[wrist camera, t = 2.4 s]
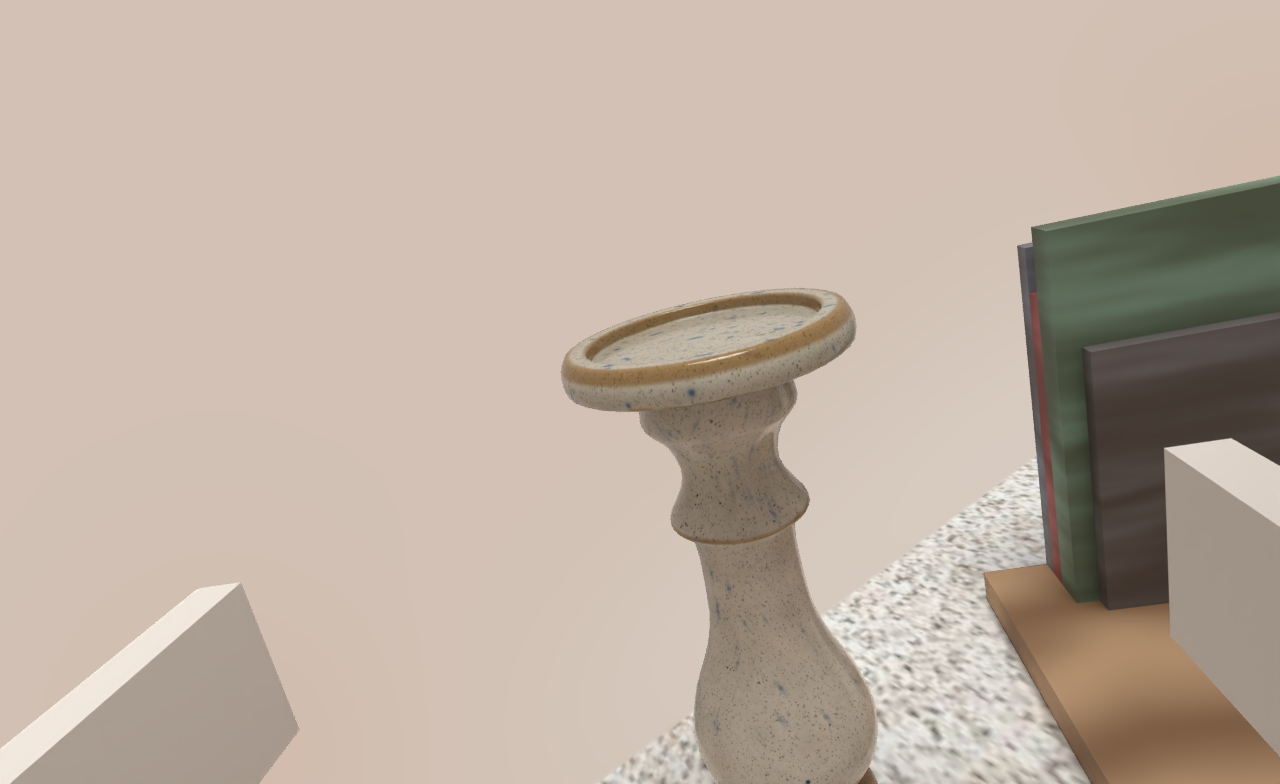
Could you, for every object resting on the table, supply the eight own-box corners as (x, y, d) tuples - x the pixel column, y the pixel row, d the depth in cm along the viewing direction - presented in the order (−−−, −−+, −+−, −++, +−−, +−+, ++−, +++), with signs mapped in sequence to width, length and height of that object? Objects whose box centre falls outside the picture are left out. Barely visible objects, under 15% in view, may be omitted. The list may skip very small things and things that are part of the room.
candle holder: (678, 842, 29) (541, 333, 24) (900, 785, 30) (814, 267, 24) (720, 1106, 21) (523, 413, 16) (1030, 1024, 21) (943, 311, 16)
